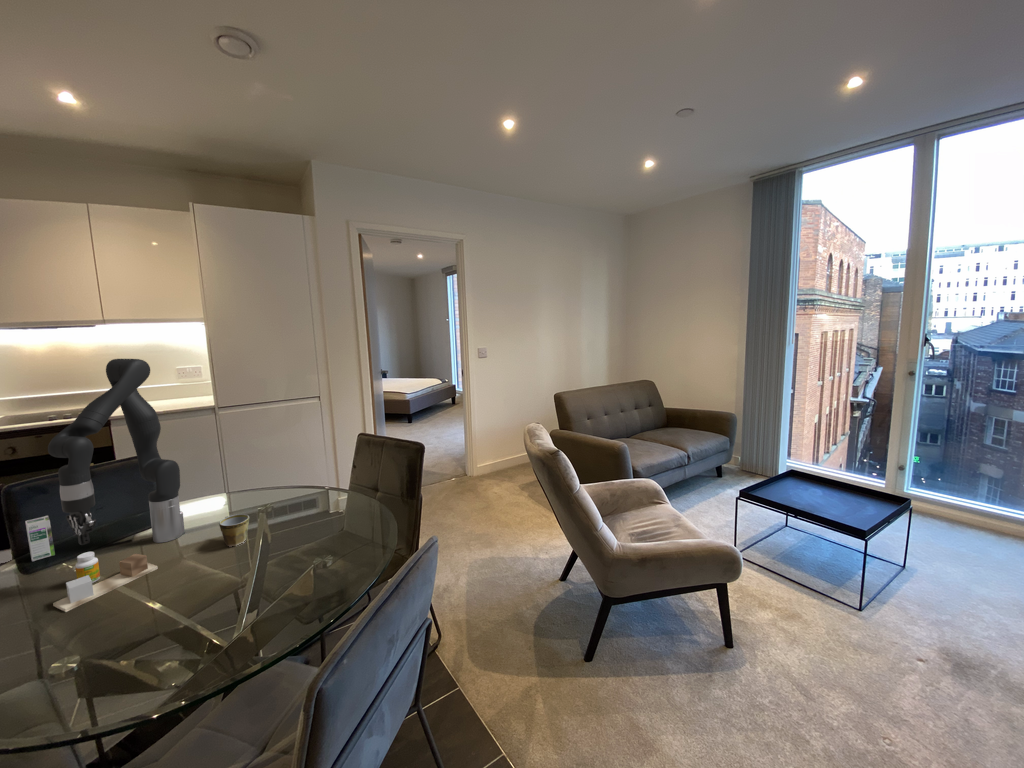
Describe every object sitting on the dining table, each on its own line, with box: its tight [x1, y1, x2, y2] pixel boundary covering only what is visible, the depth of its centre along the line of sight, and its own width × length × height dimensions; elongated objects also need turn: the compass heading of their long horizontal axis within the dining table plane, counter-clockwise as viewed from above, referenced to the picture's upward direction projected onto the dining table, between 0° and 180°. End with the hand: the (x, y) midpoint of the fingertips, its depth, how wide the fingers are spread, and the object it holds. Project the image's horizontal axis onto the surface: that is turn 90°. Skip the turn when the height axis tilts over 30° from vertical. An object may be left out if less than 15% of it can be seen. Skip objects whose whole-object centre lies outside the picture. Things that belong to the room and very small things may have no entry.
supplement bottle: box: [74, 551, 101, 584], centre depth 136 cm, size 5×5×10 cm
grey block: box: [65, 575, 94, 603], centre depth 128 cm, size 5×5×5 cm
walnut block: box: [118, 553, 148, 577], centre depth 141 cm, size 5×5×5 cm
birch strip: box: [52, 562, 158, 613], centre depth 135 cm, size 24×7×1 cm, turn 160°
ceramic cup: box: [218, 513, 250, 548], centre depth 163 cm, size 13×10×10 cm
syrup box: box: [24, 515, 56, 562], centre depth 150 cm, size 6×6×14 cm
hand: (84, 543), depth 135 cm, fingers closed
